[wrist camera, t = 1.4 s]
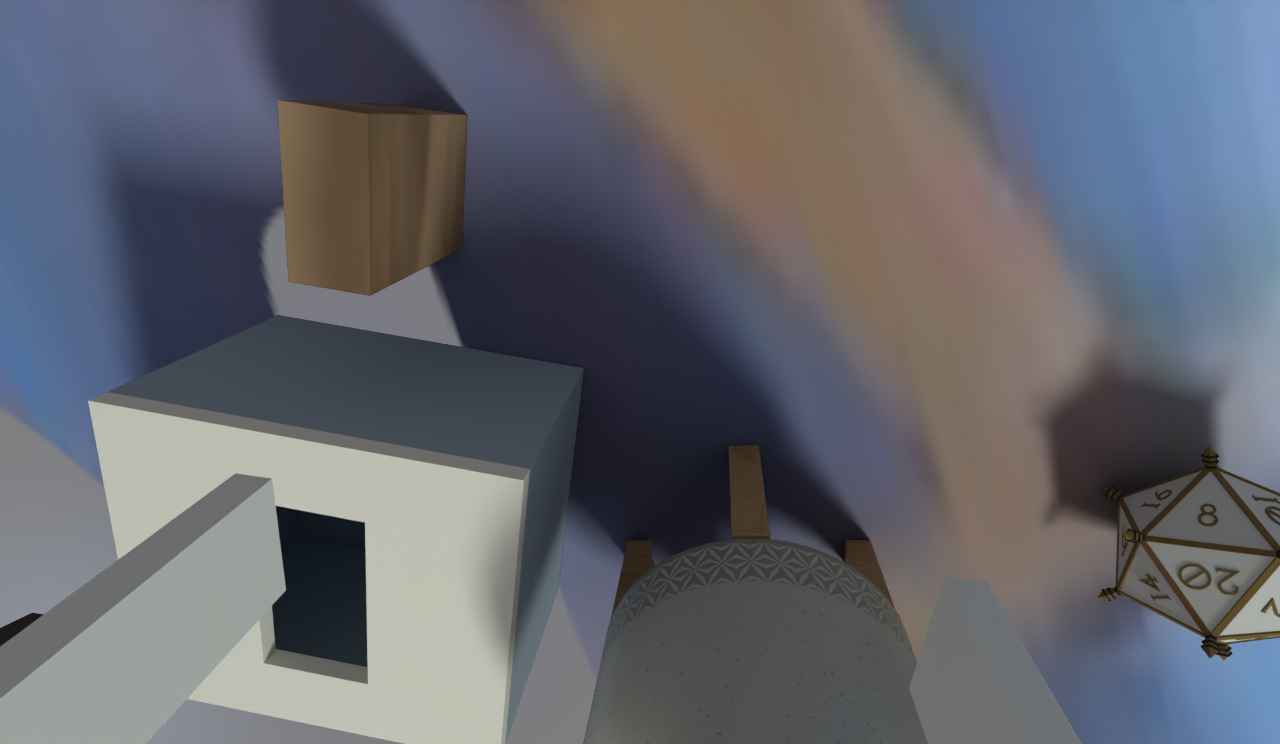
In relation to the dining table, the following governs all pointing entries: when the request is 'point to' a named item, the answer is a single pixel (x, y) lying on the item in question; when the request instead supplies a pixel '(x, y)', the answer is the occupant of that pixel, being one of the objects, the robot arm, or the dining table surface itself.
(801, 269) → the dining table surface
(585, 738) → the planter
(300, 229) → the block
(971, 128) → the dining table surface
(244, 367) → the coin box
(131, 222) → the dining table surface
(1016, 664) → the robot arm
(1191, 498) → the game die
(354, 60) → the dining table surface
